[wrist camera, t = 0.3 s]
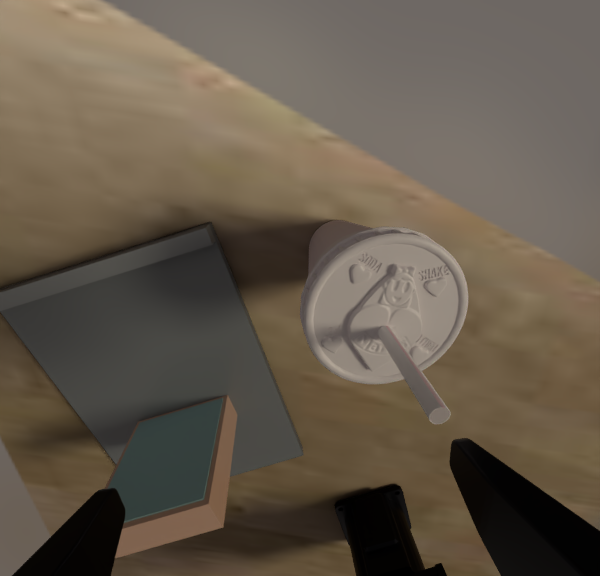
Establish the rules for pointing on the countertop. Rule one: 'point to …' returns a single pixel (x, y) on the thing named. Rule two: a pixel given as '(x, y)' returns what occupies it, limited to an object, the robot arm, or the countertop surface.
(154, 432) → the tile
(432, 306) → the smoothie
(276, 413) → the slate board
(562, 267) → the countertop surface
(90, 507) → the robot arm
